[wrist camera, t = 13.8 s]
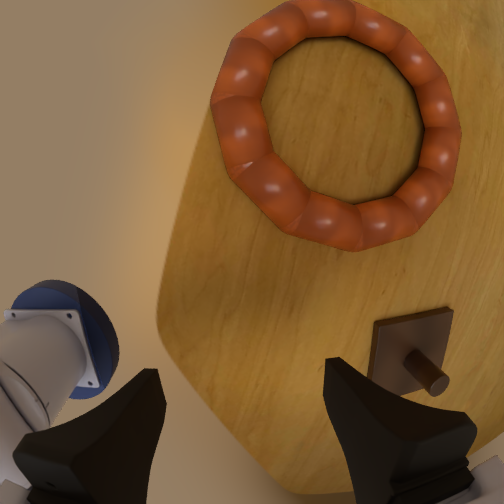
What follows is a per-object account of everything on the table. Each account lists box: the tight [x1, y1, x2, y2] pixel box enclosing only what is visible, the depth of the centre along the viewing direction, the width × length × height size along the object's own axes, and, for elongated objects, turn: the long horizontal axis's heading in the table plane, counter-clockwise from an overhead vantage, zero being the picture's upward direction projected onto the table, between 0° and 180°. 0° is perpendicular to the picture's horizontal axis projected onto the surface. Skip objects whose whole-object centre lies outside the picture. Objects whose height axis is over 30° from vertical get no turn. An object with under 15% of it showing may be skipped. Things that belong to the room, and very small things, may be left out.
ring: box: [210, 0, 462, 252], centre depth 18 cm, size 18×18×3 cm
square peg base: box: [367, 307, 454, 397], centre depth 21 cm, size 8×8×6 cm
